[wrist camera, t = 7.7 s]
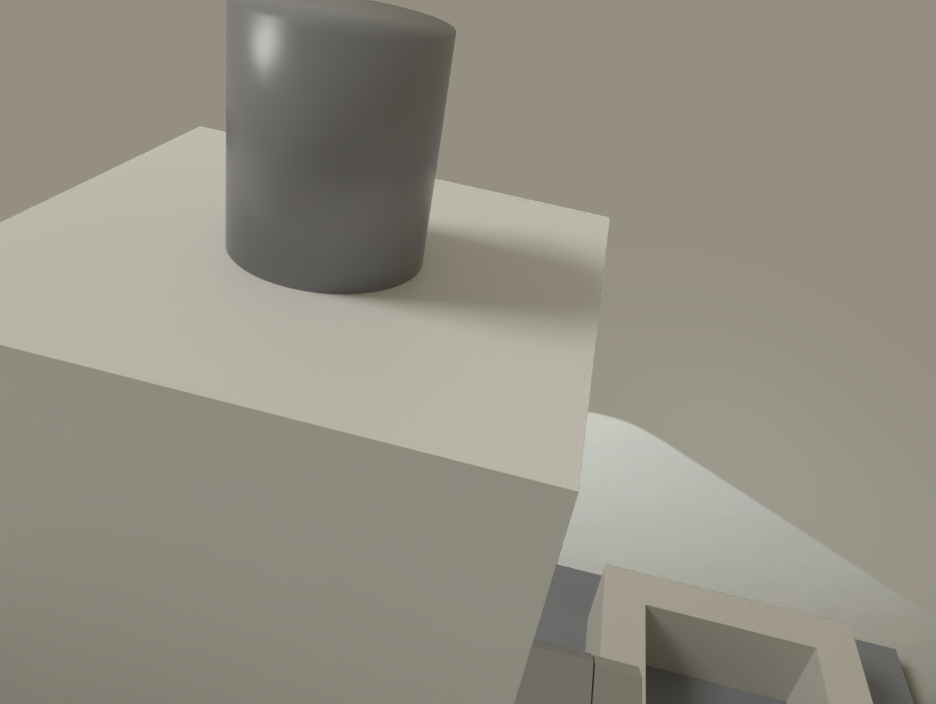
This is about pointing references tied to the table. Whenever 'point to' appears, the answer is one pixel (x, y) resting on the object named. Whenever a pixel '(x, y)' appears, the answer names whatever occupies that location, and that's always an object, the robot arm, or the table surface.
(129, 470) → the plug block
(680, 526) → the table surface
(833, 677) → the socket plate
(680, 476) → the table surface
